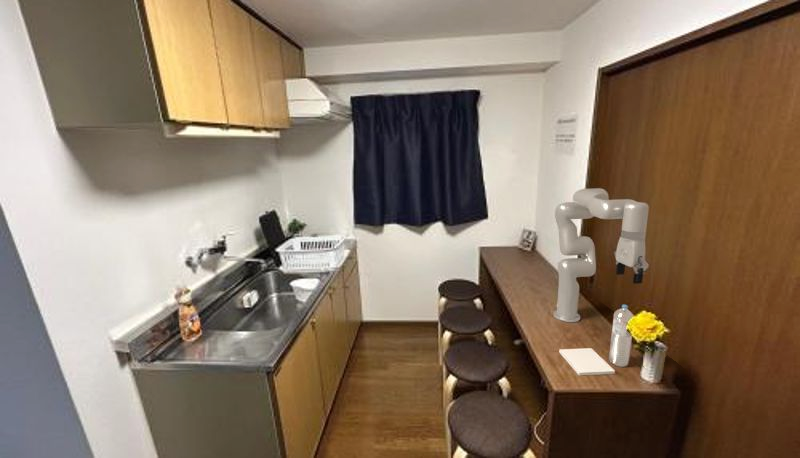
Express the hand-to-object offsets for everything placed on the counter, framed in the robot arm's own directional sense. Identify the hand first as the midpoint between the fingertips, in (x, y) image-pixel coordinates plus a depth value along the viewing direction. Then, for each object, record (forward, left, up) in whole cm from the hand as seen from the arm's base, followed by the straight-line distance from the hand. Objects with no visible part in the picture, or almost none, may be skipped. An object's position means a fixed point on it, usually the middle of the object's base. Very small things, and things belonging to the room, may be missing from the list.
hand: (628, 278), depth 131 cm
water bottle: (0, 0, -36) cm, 36 cm away
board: (-1, -13, -36) cm, 38 cm away
